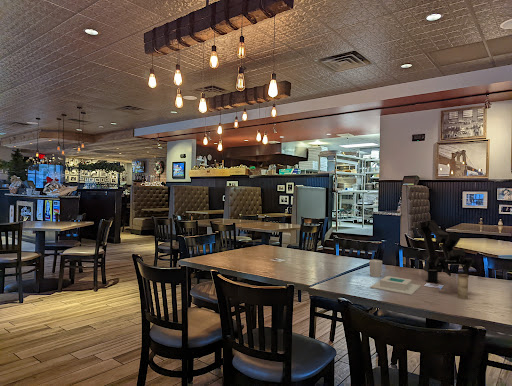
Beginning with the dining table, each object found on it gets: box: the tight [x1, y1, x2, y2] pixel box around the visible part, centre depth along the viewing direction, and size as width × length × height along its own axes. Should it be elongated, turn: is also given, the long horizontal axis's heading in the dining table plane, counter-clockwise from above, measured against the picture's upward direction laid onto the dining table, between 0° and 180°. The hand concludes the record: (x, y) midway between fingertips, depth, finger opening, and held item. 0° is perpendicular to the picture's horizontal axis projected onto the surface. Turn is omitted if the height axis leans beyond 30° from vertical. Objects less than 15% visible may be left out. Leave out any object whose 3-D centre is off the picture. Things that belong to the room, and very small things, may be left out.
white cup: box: [369, 259, 383, 278], centre depth 229 cm, size 8×8×10 cm
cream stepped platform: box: [369, 275, 422, 296], centre depth 202 cm, size 24×22×4 cm
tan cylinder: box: [457, 273, 469, 300], centre depth 184 cm, size 5×5×12 cm
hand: (459, 276), depth 187 cm, fingers open, 9 cm apart
